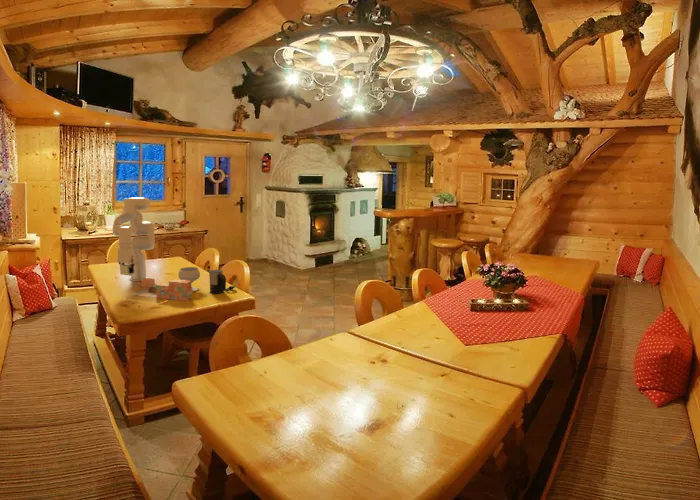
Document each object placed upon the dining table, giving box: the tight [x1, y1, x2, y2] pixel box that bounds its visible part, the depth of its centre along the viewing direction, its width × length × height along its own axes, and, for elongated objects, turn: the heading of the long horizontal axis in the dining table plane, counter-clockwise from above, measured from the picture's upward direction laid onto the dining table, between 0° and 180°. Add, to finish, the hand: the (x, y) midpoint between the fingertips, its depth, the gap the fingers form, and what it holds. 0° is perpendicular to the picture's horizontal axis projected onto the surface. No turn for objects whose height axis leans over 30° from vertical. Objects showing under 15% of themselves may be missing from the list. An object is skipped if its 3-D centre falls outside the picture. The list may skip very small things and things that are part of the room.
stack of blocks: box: [156, 279, 193, 302], centre depth 317 cm, size 21×6×12 cm, turn 80°
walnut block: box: [147, 283, 158, 293], centre depth 331 cm, size 6×6×4 cm
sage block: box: [119, 263, 135, 276], centre depth 324 cm, size 6×6×6 cm
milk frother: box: [208, 269, 236, 295], centre depth 335 cm, size 14×16×15 cm
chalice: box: [177, 266, 201, 293], centre depth 337 cm, size 14×14×15 cm
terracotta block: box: [141, 277, 156, 289], centre depth 342 cm, size 6×6×6 cm
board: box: [131, 288, 157, 298], centre depth 327 cm, size 18×17×1 cm
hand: (127, 272), depth 324 cm, fingers closed on sage block, 6 cm apart
